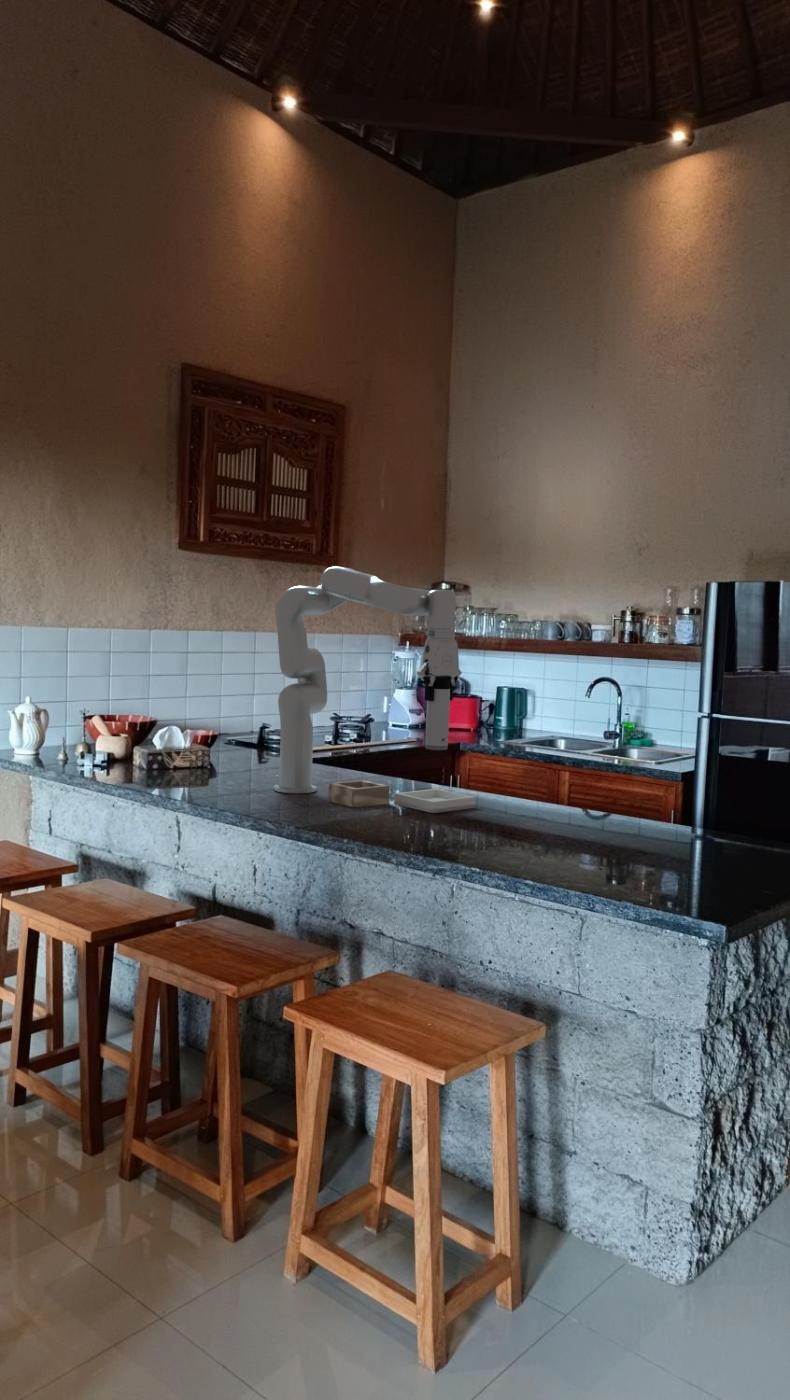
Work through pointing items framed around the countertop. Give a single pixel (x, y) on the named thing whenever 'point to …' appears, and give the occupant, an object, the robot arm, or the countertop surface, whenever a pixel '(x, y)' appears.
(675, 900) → the countertop surface
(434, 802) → the tray
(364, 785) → the wooden open box
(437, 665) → the robot arm
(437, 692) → the travel mug
